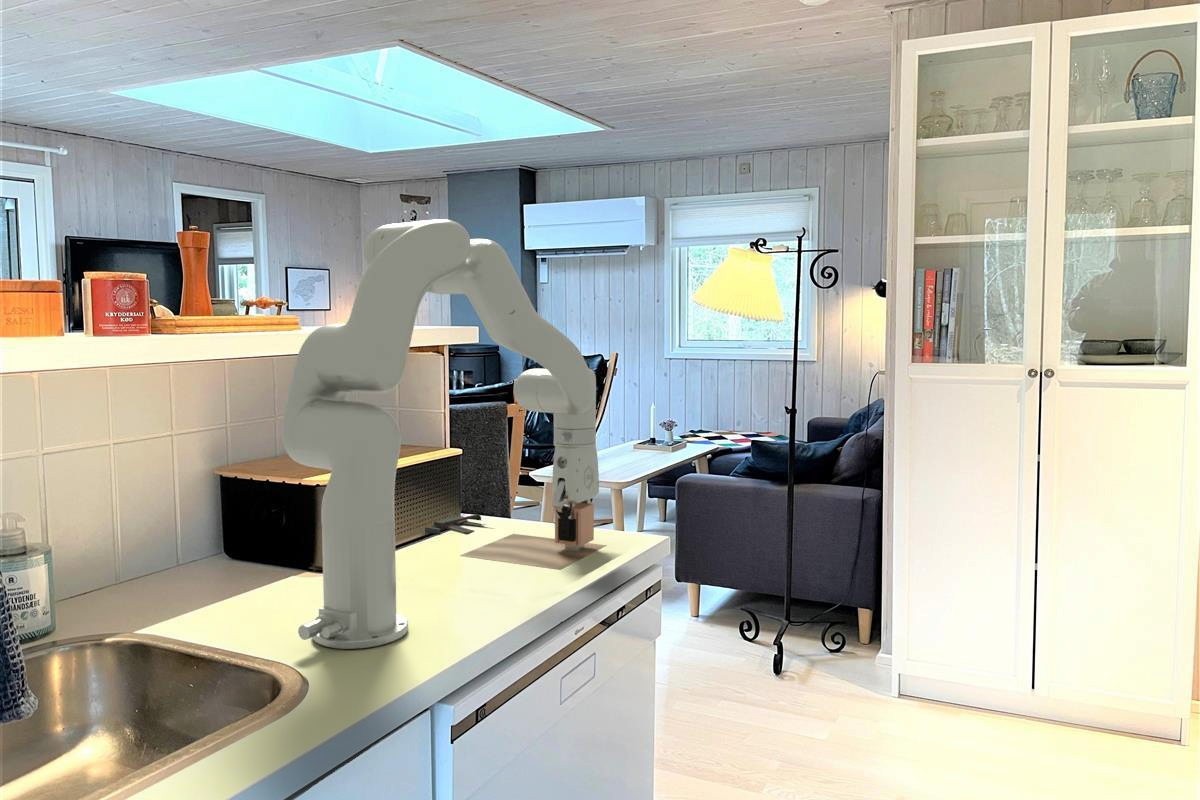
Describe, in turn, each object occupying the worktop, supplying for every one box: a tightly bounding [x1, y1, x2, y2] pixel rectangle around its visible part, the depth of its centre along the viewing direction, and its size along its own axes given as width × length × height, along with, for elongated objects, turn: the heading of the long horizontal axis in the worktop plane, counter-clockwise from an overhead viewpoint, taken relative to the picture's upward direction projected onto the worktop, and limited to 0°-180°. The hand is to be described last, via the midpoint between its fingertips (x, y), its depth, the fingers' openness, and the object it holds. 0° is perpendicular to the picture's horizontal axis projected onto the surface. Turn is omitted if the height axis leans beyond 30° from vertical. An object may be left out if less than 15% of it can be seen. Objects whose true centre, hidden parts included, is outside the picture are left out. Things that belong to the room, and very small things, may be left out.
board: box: [459, 533, 608, 571], centre depth 159 cm, size 18×20×2 cm
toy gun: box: [424, 513, 495, 535], centre depth 180 cm, size 3×19×15 cm
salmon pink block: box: [554, 503, 595, 546], centre depth 160 cm, size 5×5×7 cm
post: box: [565, 544, 584, 551], centre depth 160 cm, size 3×3×7 cm
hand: (574, 536), depth 160 cm, fingers closed on salmon pink block, 4 cm apart
